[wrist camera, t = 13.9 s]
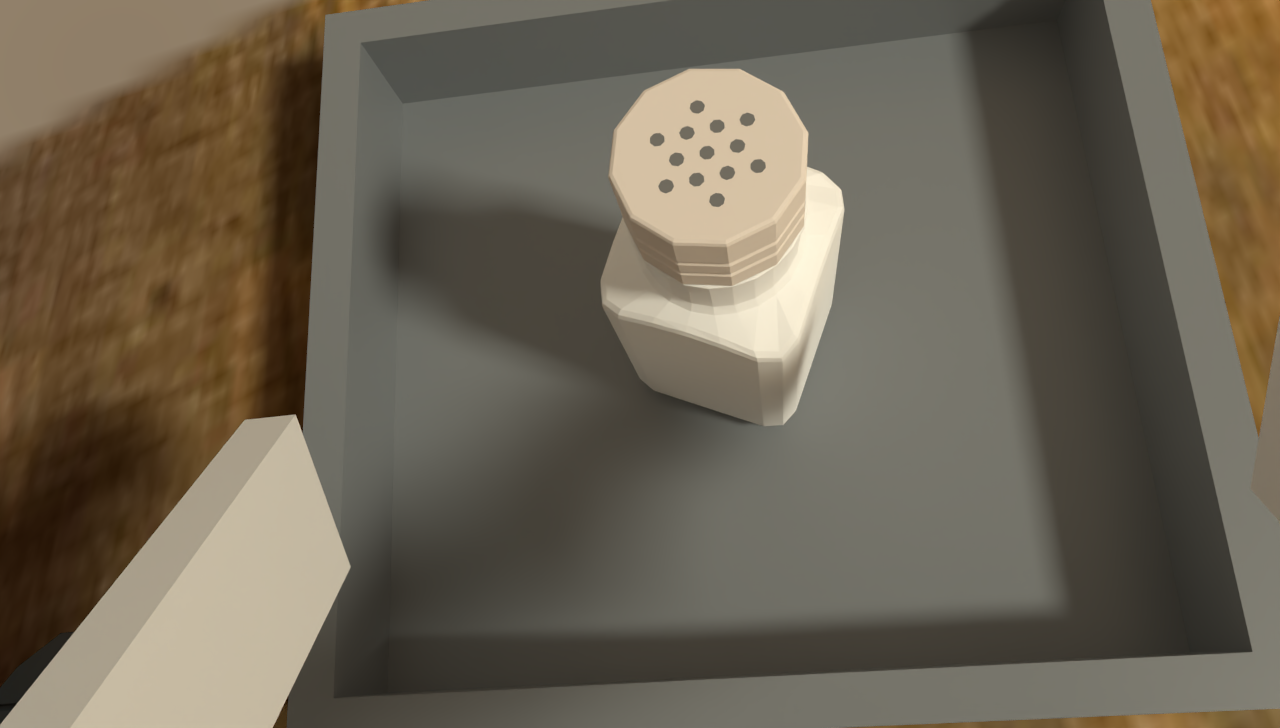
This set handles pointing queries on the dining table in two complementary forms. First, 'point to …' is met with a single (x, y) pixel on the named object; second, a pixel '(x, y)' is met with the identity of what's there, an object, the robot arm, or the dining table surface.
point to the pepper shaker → (720, 244)
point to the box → (829, 404)
